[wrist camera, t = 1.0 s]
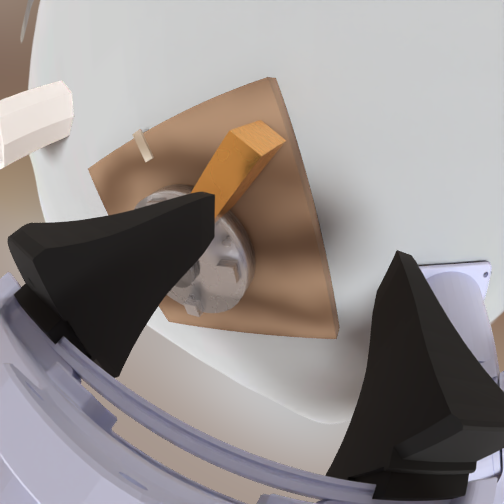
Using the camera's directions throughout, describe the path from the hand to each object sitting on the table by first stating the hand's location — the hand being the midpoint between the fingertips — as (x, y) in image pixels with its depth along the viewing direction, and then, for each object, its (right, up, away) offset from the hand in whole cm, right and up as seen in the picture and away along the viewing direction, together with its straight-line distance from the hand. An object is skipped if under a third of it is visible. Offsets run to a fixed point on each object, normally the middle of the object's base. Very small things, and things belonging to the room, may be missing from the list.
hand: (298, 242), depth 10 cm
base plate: (-6, +1, +15) cm, 16 cm away
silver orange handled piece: (-5, +2, +11) cm, 13 cm away
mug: (-28, +19, +14) cm, 36 cm away
